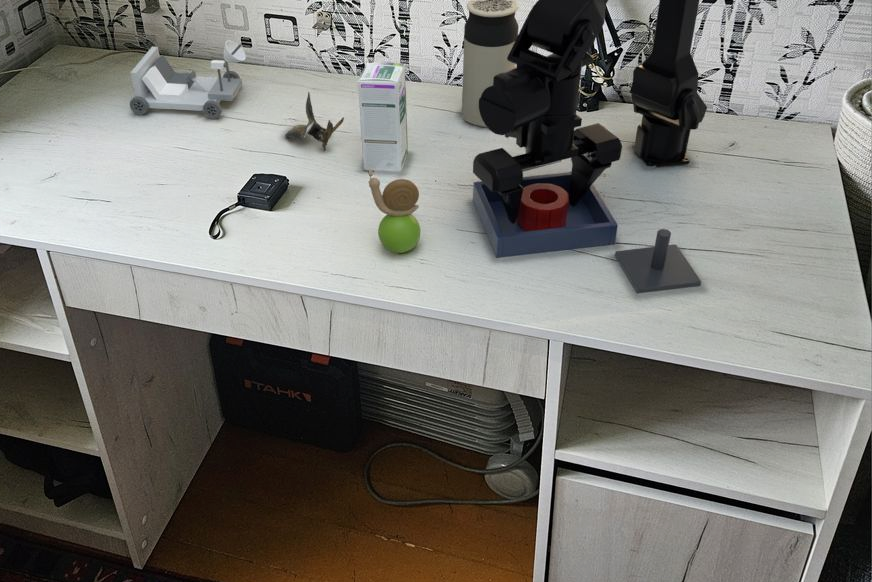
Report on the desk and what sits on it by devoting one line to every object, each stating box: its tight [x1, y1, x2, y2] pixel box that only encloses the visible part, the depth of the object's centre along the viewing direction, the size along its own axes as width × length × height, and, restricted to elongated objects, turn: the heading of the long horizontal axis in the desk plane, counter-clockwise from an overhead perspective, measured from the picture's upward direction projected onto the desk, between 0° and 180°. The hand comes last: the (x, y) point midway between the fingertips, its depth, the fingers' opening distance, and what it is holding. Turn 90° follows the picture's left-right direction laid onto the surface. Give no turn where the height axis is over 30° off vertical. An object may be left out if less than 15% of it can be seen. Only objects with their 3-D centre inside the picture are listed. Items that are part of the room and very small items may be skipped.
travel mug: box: [461, 0, 519, 127], centre depth 143 cm, size 8×8×18 cm
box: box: [472, 171, 619, 259], centre depth 125 cm, size 16×14×3 cm
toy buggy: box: [129, 39, 247, 120], centre depth 153 cm, size 18×10×12 cm
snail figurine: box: [367, 169, 421, 254], centre depth 118 cm, size 5×6×12 cm
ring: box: [517, 183, 569, 232], centre depth 124 cm, size 7×7×4 cm
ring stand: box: [614, 228, 702, 294], centre depth 115 cm, size 8×8×6 cm
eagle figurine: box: [284, 91, 345, 152], centre depth 143 cm, size 8×7×9 cm
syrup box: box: [357, 61, 409, 173], centre depth 134 cm, size 6×6×14 cm
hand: (542, 213), depth 125 cm, fingers open, 9 cm apart
